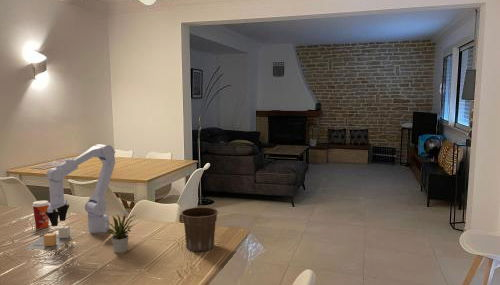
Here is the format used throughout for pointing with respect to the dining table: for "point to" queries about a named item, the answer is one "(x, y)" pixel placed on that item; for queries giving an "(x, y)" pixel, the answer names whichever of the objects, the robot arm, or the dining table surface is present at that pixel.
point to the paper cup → (41, 214)
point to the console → (40, 245)
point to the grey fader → (64, 231)
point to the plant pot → (199, 228)
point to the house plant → (120, 234)
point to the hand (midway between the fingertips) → (58, 223)
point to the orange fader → (50, 239)
